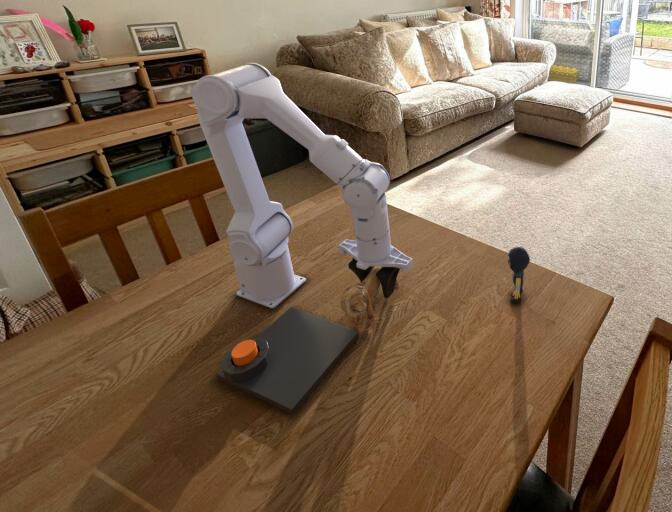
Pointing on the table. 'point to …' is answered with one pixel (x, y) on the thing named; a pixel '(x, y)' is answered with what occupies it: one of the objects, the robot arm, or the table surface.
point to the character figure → (518, 270)
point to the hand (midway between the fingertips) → (379, 291)
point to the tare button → (244, 352)
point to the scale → (290, 359)
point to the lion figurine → (362, 297)
